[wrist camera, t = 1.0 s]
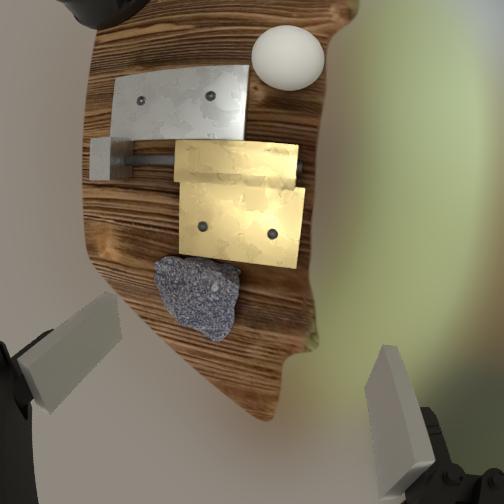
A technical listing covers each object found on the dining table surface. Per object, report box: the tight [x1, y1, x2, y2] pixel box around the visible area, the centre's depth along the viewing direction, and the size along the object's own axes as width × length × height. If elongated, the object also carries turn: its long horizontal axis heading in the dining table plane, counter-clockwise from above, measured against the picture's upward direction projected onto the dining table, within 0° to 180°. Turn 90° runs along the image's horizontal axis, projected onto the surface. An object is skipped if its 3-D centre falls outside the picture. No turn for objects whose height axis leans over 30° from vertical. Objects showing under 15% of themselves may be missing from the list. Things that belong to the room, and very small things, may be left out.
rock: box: [154, 256, 241, 341], centre depth 36 cm, size 12×5×10 cm
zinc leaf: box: [90, 65, 303, 180], centre depth 29 cm, size 13×24×5 cm, turn 86°
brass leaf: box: [174, 140, 305, 269], centre depth 31 cm, size 13×14×5 cm
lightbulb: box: [252, 25, 324, 91], centre depth 23 cm, size 6×6×11 cm
